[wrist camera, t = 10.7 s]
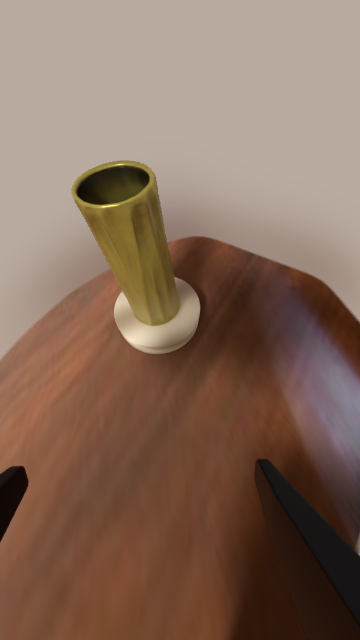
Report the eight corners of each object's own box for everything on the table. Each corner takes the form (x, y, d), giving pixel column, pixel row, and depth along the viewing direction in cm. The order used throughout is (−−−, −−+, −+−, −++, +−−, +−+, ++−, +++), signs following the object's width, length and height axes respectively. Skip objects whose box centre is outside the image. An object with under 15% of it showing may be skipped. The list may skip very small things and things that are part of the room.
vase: (164, 335, 22) (121, 223, 10) (123, 314, 24) (41, 197, 11) (188, 296, 24) (180, 164, 12) (149, 280, 26) (106, 151, 14)
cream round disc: (214, 329, 26) (217, 318, 23) (141, 371, 23) (136, 363, 21) (173, 278, 31) (172, 264, 28) (109, 307, 28) (101, 295, 25)
